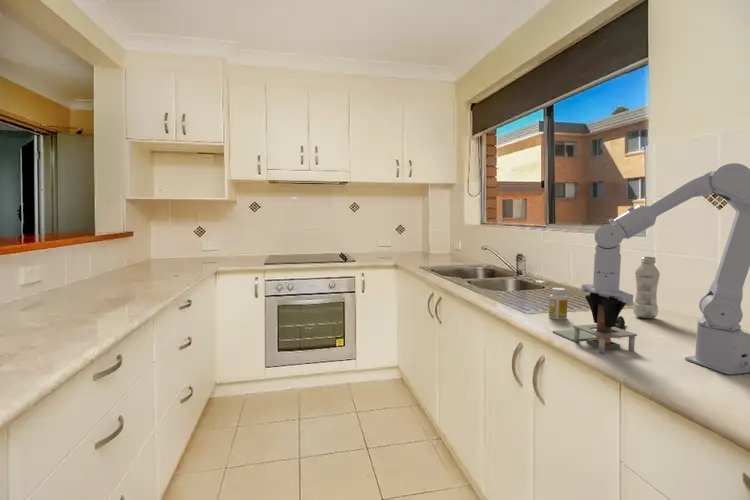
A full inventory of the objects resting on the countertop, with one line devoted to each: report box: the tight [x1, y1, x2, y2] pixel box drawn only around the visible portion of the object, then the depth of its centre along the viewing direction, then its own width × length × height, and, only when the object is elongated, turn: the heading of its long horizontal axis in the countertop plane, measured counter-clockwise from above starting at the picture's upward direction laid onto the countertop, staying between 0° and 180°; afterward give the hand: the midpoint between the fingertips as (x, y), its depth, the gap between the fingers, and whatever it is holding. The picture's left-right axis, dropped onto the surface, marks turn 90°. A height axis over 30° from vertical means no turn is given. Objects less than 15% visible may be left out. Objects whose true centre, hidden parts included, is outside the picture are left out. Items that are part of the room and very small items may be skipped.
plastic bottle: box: [632, 256, 660, 319], centre depth 126 cm, size 6×7×20 cm
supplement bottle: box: [548, 287, 568, 321], centre depth 127 cm, size 5×5×10 cm
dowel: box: [596, 304, 611, 333], centre depth 99 cm, size 3×3×8 cm
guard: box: [572, 323, 638, 355], centre depth 100 cm, size 10×10×4 cm
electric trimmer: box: [611, 315, 626, 333], centre depth 114 cm, size 4×16×3 cm, turn 139°
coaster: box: [552, 328, 596, 342], centre depth 108 cm, size 8×8×1 cm
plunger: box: [595, 336, 612, 345], centre depth 100 cm, size 3×3×2 cm
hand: (603, 324), depth 99 cm, fingers closed on dowel, 3 cm apart
